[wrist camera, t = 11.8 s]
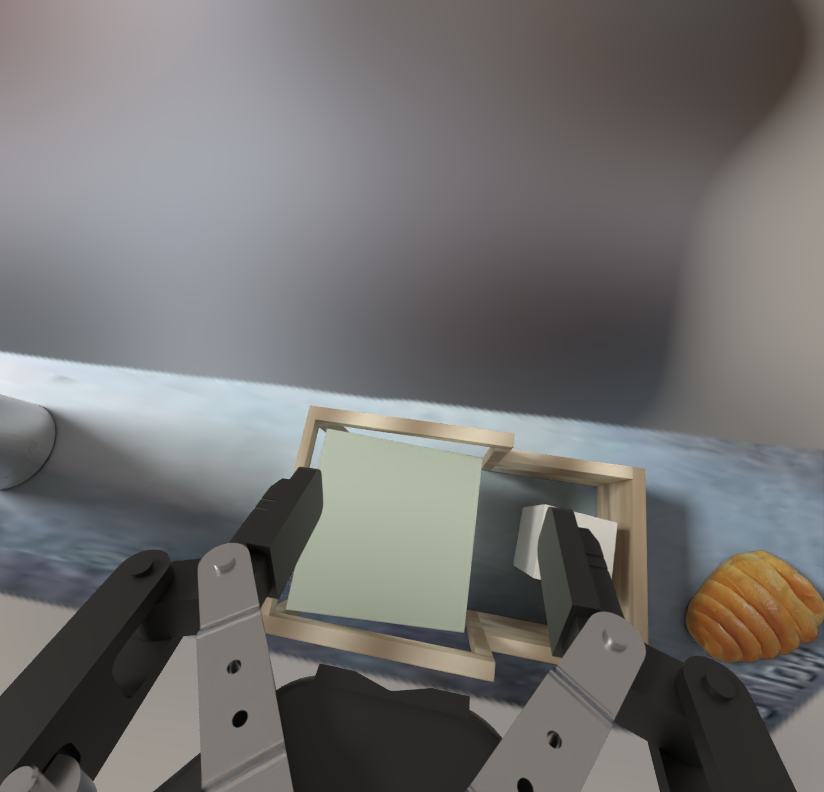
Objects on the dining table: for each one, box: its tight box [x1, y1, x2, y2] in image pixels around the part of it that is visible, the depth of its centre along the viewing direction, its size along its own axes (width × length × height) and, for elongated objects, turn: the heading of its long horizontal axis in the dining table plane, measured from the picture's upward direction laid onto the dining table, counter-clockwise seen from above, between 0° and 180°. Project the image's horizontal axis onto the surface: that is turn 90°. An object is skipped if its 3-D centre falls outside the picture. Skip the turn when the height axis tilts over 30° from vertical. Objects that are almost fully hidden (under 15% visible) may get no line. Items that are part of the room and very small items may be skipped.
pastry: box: [685, 550, 824, 663], centre depth 30 cm, size 9×7×4 cm
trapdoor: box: [286, 429, 482, 633], centre depth 25 cm, size 11×11×1 cm
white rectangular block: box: [513, 504, 617, 580], centre depth 30 cm, size 5×5×8 cm
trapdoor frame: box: [261, 406, 648, 682], centre depth 29 cm, size 24×14×12 cm, turn 81°
